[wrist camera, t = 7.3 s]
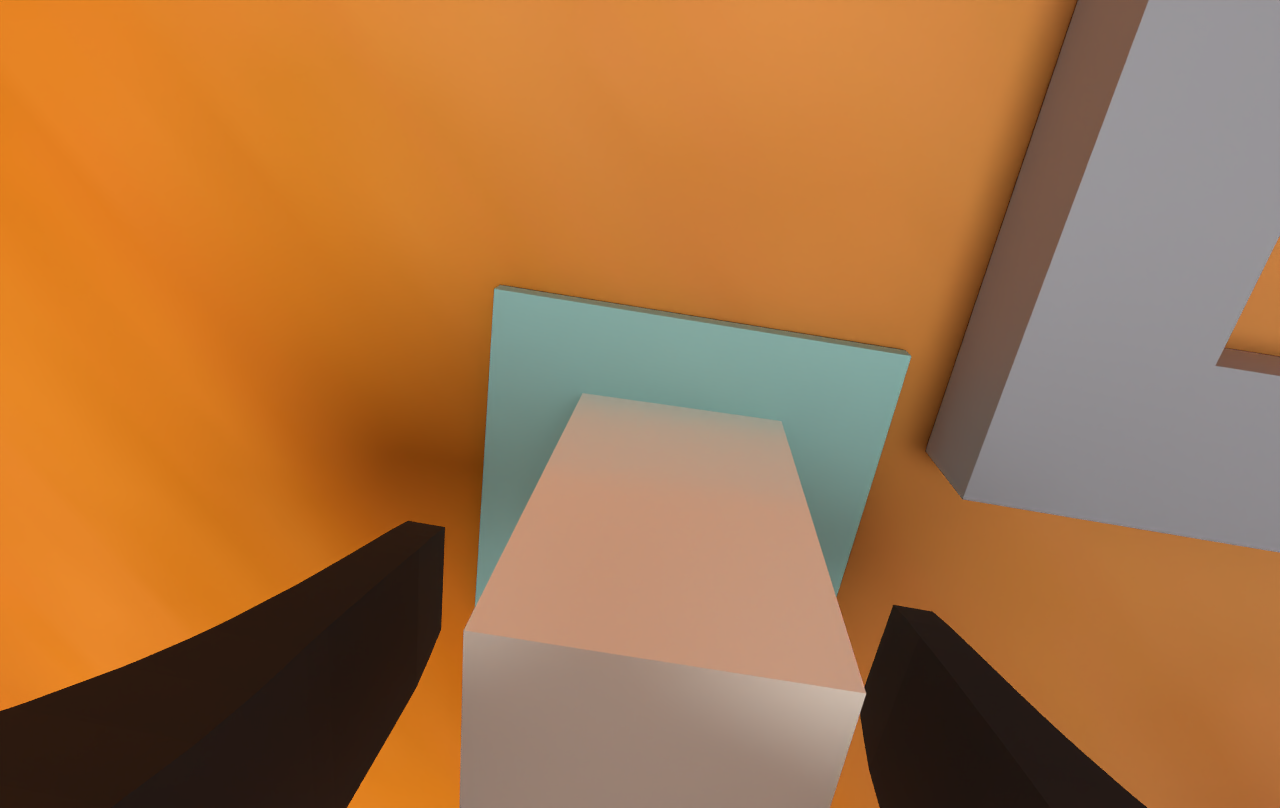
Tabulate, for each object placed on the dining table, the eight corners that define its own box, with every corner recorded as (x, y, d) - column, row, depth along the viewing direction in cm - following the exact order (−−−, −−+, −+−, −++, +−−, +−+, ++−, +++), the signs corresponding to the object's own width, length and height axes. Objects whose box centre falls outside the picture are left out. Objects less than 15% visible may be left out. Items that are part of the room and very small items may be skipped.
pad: (904, 350, 12) (911, 356, 12) (807, 669, 15) (810, 681, 15) (500, 285, 13) (494, 288, 12) (479, 610, 16) (473, 622, 15)
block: (781, 421, 13) (866, 694, 6) (745, 586, 14) (785, 947, 8) (582, 393, 13) (464, 630, 6) (567, 559, 14) (458, 891, 8)
